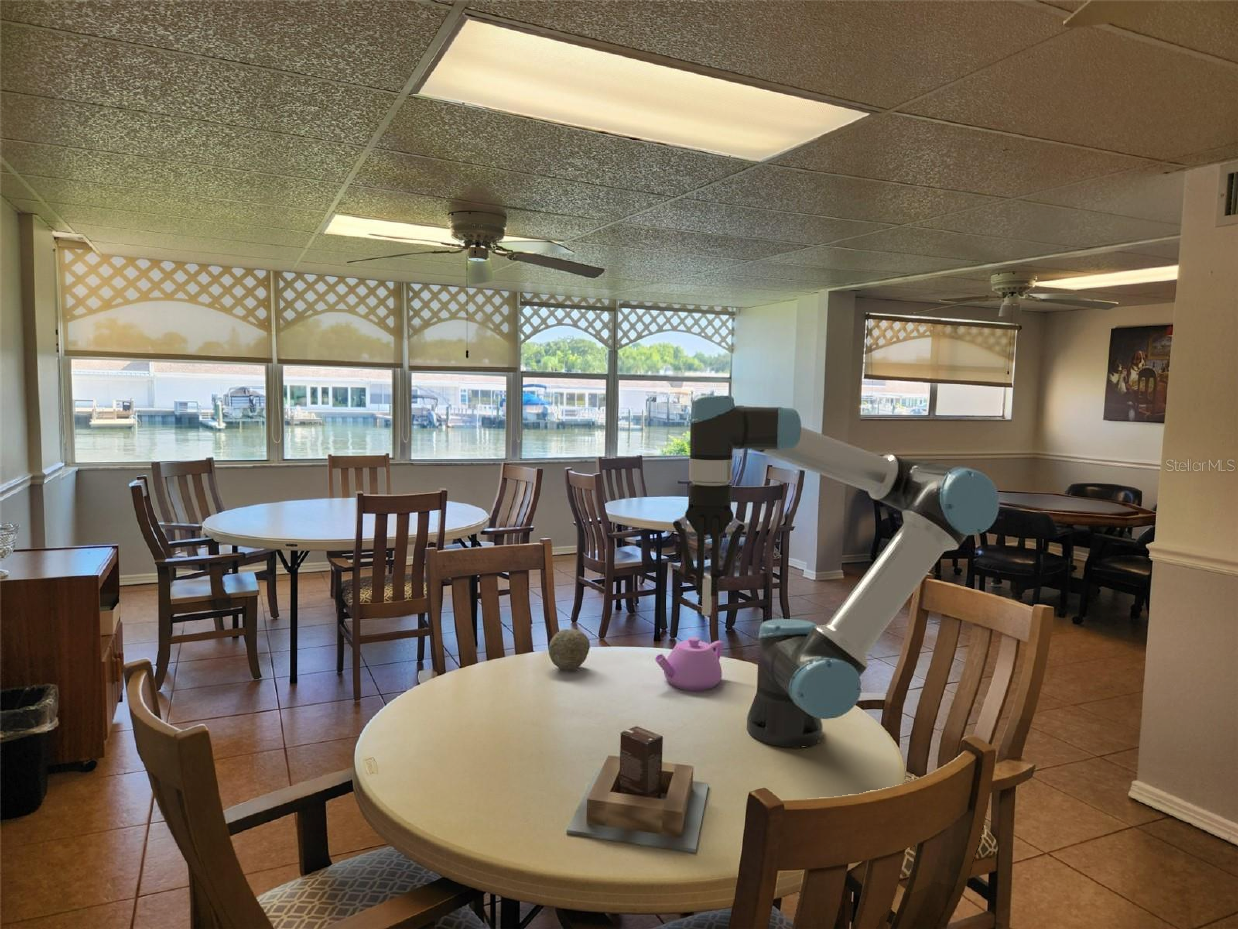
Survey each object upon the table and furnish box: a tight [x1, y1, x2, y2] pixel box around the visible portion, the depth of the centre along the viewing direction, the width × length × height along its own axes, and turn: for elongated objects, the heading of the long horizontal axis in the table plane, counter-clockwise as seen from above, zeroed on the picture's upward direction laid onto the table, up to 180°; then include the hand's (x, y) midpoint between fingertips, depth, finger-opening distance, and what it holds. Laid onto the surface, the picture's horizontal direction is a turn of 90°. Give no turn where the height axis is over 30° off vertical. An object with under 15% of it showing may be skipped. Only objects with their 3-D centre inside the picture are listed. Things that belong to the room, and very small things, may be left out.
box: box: [619, 725, 664, 799], centre depth 124 cm, size 6×4×12 cm
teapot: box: [654, 636, 724, 692], centre depth 180 cm, size 14×20×11 cm
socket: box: [566, 754, 709, 854], centre depth 124 cm, size 20×20×5 cm
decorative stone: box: [548, 628, 591, 672], centre depth 186 cm, size 10×8×10 cm
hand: (706, 613), depth 135 cm, fingers closed
